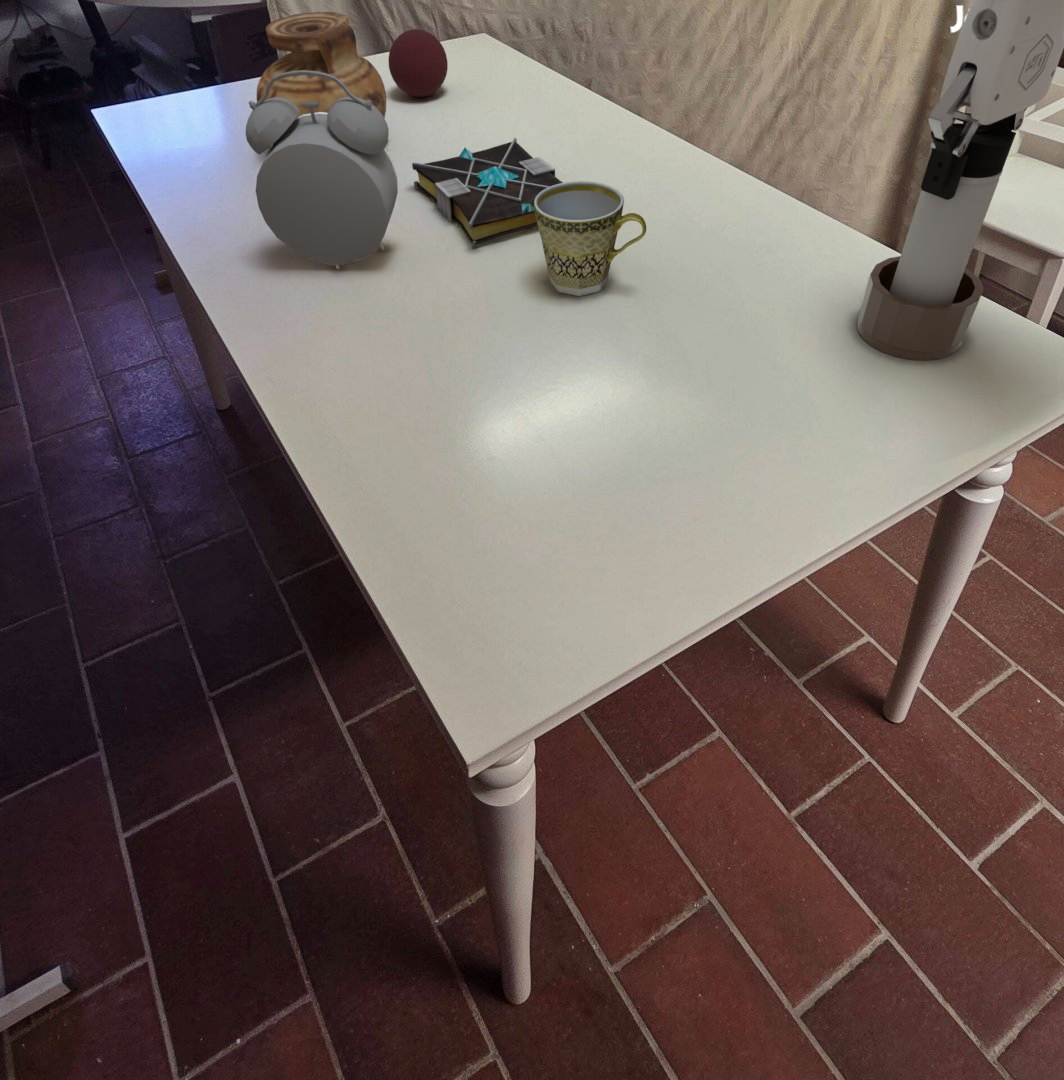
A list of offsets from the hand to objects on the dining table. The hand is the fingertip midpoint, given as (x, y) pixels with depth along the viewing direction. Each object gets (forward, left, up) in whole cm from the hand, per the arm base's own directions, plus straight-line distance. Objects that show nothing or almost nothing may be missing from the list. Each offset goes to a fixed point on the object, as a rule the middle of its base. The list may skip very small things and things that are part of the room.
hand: (960, 181), depth 78 cm
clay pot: (+87, +25, -16) cm, 92 cm away
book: (+55, +16, -16) cm, 60 cm away
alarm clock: (+55, +40, -16) cm, 70 cm away
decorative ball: (+98, +2, -16) cm, 99 cm away
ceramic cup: (+30, +20, -16) cm, 40 cm away
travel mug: (0, +1, -15) cm, 15 cm away
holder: (0, 0, -16) cm, 16 cm away
